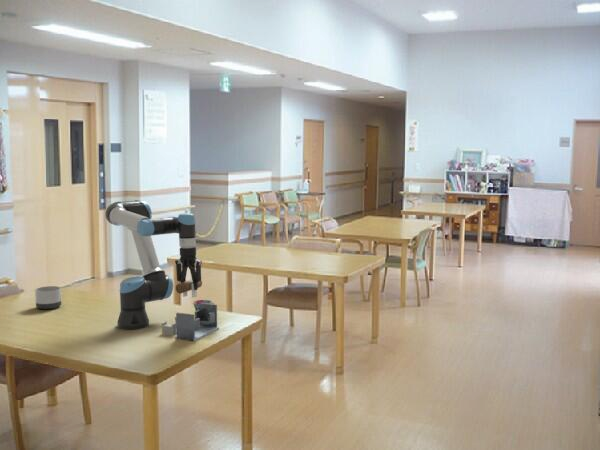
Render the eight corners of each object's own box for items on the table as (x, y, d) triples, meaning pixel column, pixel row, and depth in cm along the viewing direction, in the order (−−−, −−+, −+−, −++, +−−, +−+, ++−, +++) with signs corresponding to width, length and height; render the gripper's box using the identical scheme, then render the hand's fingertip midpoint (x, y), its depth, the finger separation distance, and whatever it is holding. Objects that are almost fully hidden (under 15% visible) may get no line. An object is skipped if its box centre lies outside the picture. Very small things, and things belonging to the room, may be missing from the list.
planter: (44, 304, 349) (43, 285, 348) (65, 305, 348) (65, 286, 346) (31, 310, 337) (30, 291, 336) (53, 311, 335) (52, 291, 334)
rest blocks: (161, 333, 295) (161, 323, 294) (178, 326, 308) (178, 315, 307) (173, 335, 292) (173, 324, 292) (189, 327, 305) (189, 317, 305)
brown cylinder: (184, 293, 286) (183, 284, 286) (175, 293, 288) (175, 283, 287) (202, 287, 300) (201, 278, 299) (194, 287, 301) (193, 277, 301)
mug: (199, 326, 307) (199, 305, 306) (189, 322, 314) (189, 301, 313) (220, 322, 315) (219, 301, 314) (209, 318, 322) (209, 298, 321)
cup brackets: (176, 338, 288) (176, 313, 286) (201, 326, 307) (200, 302, 305) (193, 341, 284) (193, 315, 283) (217, 328, 303) (216, 304, 302)
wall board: (174, 338, 288) (174, 336, 288) (199, 326, 307) (199, 324, 307) (195, 341, 284) (195, 339, 284) (219, 329, 303) (219, 327, 303)
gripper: (167, 247, 292) (169, 296, 294) (199, 248, 285) (201, 299, 287) (176, 245, 299) (178, 293, 301) (208, 246, 292) (210, 296, 294)
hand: (189, 296), depth 294 cm, fingers closed on brown cylinder, 4 cm apart
